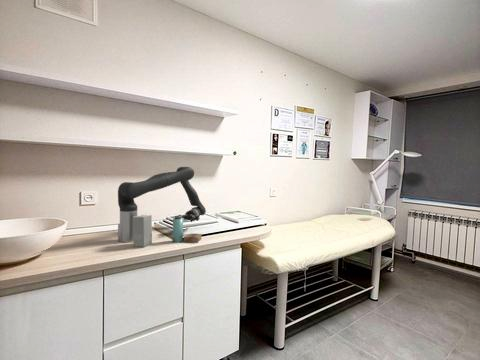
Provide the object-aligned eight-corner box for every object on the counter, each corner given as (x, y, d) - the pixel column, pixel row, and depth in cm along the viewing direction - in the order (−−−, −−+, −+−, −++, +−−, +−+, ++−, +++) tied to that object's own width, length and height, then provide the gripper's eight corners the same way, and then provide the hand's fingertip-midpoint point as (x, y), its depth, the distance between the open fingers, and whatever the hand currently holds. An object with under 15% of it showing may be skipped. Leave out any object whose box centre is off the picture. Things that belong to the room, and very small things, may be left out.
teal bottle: (171, 242, 142) (171, 216, 141) (174, 239, 147) (175, 215, 147) (180, 242, 141) (181, 217, 141) (184, 240, 147) (184, 215, 146)
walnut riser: (183, 242, 143) (184, 236, 143) (188, 238, 151) (188, 233, 151) (197, 242, 142) (197, 237, 142) (201, 238, 150) (201, 233, 150)
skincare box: (144, 247, 131) (144, 217, 130) (131, 246, 132) (132, 216, 132) (152, 243, 139) (153, 214, 139) (141, 242, 140) (141, 214, 140)
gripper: (181, 209, 172) (173, 213, 156) (202, 210, 170) (195, 214, 154) (181, 220, 172) (173, 225, 156) (202, 220, 171) (195, 226, 155)
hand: (184, 219), depth 155 cm, fingers open, 8 cm apart
